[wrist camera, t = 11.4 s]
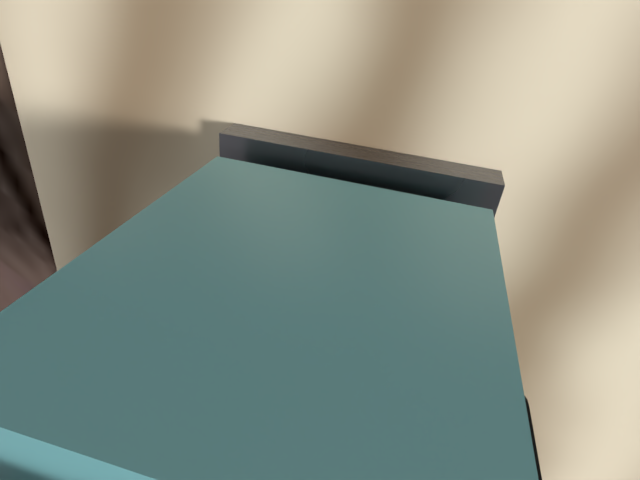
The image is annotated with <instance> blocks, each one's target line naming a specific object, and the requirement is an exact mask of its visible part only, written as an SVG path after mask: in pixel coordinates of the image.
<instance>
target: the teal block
mask: <svg viewBox="0 0 640 480" xmlns="http://www.w3.org/2000/svg"><path fill="white" fill-rule="evenodd" d="M0 480H539V479H538V473H537V467H536V462H535V456H534V450H533V444H532V438H531V432H530V426H529V420H528V414H527V408H526V403H525V397H524V391H523V385H522V379H521V373H520V367H519V361H518V355H517V349H516V344H515V338H514V332H513V326H512V320H511V314H510V308H509V302H508V296H507V290H506V285H505V279H504V273H503V267H502V261H501V255H500V249H499V243H498V237H497V231H496V226H495V220H494V214H493V210H492V209H486V208H481V207H476V206H471V205H466V204H461V203H456V202H450V201H445V200H440V199H435V198H430V197H425V196H419V195H414V194H409V193H404V192H399V191H394V190H389V189H383V188H378V187H373V186H368V185H363V184H358V183H352V182H347V181H342V180H337V179H332V178H327V177H322V176H316V175H311V174H306V173H301V172H296V171H291V170H285V169H280V168H275V167H270V166H265V165H260V164H255V163H249V162H244V161H239V160H234V159H229V158H224V157H218V156H217V157H216V158H214V159H213V160H211V161H210V162H209V163H207V164H206V165H205V166H203V167H202V168H200V169H199V170H198V171H196V172H195V173H193V174H192V175H191V176H189V177H188V178H186V179H185V180H184V181H182V182H181V183H179V184H178V185H177V186H175V187H174V188H172V189H171V190H170V191H168V192H167V193H165V194H164V195H163V196H161V197H160V198H159V199H157V200H156V201H154V202H153V203H152V204H150V205H149V206H147V207H146V208H145V209H143V210H142V211H140V212H139V213H138V214H136V215H135V216H133V217H132V218H131V219H129V220H128V221H126V222H125V223H124V224H122V225H121V226H119V227H118V228H117V229H115V230H114V231H113V232H111V233H110V234H108V235H107V236H106V237H104V238H103V239H101V240H100V241H99V242H97V243H96V244H94V245H93V246H92V247H90V248H89V249H87V250H86V251H85V252H83V253H82V254H80V255H79V256H78V257H76V258H75V259H73V260H72V261H71V262H69V263H68V264H67V265H65V266H64V267H62V268H61V269H60V270H58V271H57V272H55V273H54V274H53V275H51V276H50V277H48V278H47V279H46V280H44V281H43V282H41V283H40V284H39V285H37V286H36V287H34V288H33V289H32V290H30V291H29V292H28V293H26V294H25V295H23V296H22V297H21V298H19V299H18V300H16V301H15V302H14V303H12V304H11V305H9V306H8V307H7V308H5V309H4V310H2V311H1V312H0Z"/></svg>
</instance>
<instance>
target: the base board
mask: <svg viewBox="0 0 640 480" xmlns="http://www.w3.org/2000/svg"><path fill="white" fill-rule="evenodd" d="M0 43H1V47H2V51H3V55H4V59H5V63H6V68H7V72H8V76H9V80H10V84H11V88H12V92H13V96H14V100H15V104H16V108H17V112H18V116H19V120H20V124H21V128H22V132H23V136H24V140H25V144H26V148H27V152H28V156H29V160H30V164H31V168H32V172H33V176H34V180H35V184H36V188H37V192H38V196H39V200H40V204H41V208H42V212H43V216H44V220H45V224H46V228H47V232H48V236H49V240H50V244H51V248H52V252H53V256H54V260H55V264H56V268H57V271H58V270H60V269H61V268H62V267H64V266H65V265H67V264H68V263H69V262H71V261H72V260H73V259H75V258H76V257H78V256H79V255H80V254H82V253H83V252H85V251H86V250H87V249H89V248H90V247H92V246H93V245H94V244H96V243H97V242H99V241H100V240H101V239H103V238H104V237H106V236H107V235H108V234H110V233H111V232H113V231H114V230H115V229H117V228H118V227H119V226H121V225H122V224H124V223H125V222H126V221H128V220H129V219H131V218H132V217H133V216H135V215H136V214H138V213H139V212H140V211H142V210H143V209H145V208H146V207H147V206H149V205H150V204H152V203H153V202H154V201H156V200H157V199H159V198H160V197H161V196H163V195H164V194H165V193H167V192H168V191H170V190H171V189H172V188H174V187H175V186H177V185H178V184H179V183H181V182H182V181H184V180H185V179H186V178H188V177H189V176H191V175H192V174H193V173H195V172H196V171H198V170H199V169H200V168H202V167H203V166H205V165H206V164H207V163H209V162H210V161H211V160H213V159H214V158H216V157H217V156H218V157H220V151H219V133H220V132H222V131H223V130H225V129H226V128H228V127H230V126H231V125H233V124H234V123H237V124H243V125H248V126H254V127H260V128H265V129H271V130H276V131H282V132H288V133H293V134H299V135H304V136H310V137H316V138H321V139H327V140H332V141H338V142H344V143H349V144H355V145H360V146H366V147H372V148H377V149H383V150H388V151H394V152H400V153H405V154H411V155H416V156H422V157H428V158H433V159H439V160H444V161H450V162H455V163H461V164H467V165H472V166H478V167H483V168H489V169H495V170H500V171H502V175H503V179H504V183H505V187H504V190H503V193H502V196H501V199H500V202H499V205H498V208H497V211H496V214H495V217H494V220H495V226H496V231H497V237H498V243H499V249H500V255H501V261H502V267H503V273H504V279H505V285H506V290H507V296H508V302H509V308H510V314H511V320H512V326H513V332H514V338H515V344H516V349H517V355H518V361H519V367H520V373H521V379H522V385H523V391H524V396H525V397H526V398H527V400H528V403H529V408H530V413H531V419H532V425H533V430H534V436H535V442H536V448H537V453H538V459H539V465H540V470H541V476H542V480H640V0H0Z"/></svg>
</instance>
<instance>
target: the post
mask: <svg viewBox="0 0 640 480" xmlns="http://www.w3.org/2000/svg"><path fill="white" fill-rule="evenodd" d="M219 151H220V157H224V158H229V159H234V160H239V161H244V162H249V163H255V164H260V165H265V166H270V167H275V168H280V169H285V170H291V171H296V172H301V173H306V174H311V175H316V176H322V177H327V178H332V179H337V180H342V181H347V182H352V183H358V184H363V185H368V186H373V187H378V188H383V189H389V190H394V191H399V192H404V193H409V194H414V195H419V196H425V197H430V198H435V199H440V200H445V201H450V202H456V203H461V204H466V205H471V206H476V207H481V208H486V209H492V210H493V214H494V217H495V214H496V211H497V208H498V205H499V202H500V199H501V196H502V193H503V190H504V187H505V183H504V179H503V175H502V171H500V170H495V169H489V168H483V167H478V166H472V165H467V164H461V163H455V162H450V161H444V160H439V159H433V158H428V157H422V156H416V155H411V154H405V153H400V152H394V151H388V150H383V149H377V148H372V147H366V146H360V145H355V144H349V143H344V142H338V141H332V140H327V139H321V138H316V137H310V136H304V135H299V134H293V133H288V132H282V131H276V130H271V129H265V128H260V127H254V126H248V125H243V124H237V123H234V124H233V125H231V126H230V127H228V128H226V129H225V130H223V131H222V132H220V133H219Z"/></svg>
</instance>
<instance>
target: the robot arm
mask: <svg viewBox="0 0 640 480" xmlns="http://www.w3.org/2000/svg"><path fill="white" fill-rule="evenodd" d="M524 397H525V396H524ZM525 403H526V408H527V414H528V420H529V426H530V432H531V438H532V444H533V450H534V456H535V462H536V467H537V473H538V479H539V480H542V476H541V470H540V465H539V459H538V453H537V448H536V442H535V436H534V430H533V425H532V419H531V413H530V408H529V403H528V400H527V398H526V397H525Z"/></svg>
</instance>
